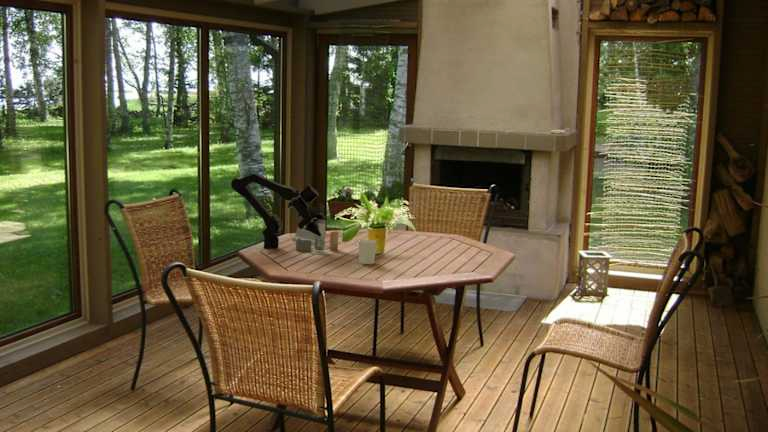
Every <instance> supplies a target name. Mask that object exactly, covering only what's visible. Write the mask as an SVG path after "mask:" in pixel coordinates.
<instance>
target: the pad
mask: <svg viewBox="0 0 768 432" xmlns="http://www.w3.org/2000/svg"><path fill="white" fill-rule="evenodd" d="M310 253H311V255H330V253H329V250H328V249H324V250H323V251H318V250H315V249H311V251H310Z"/></svg>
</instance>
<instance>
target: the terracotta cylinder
mask: <svg viewBox="0 0 768 432" xmlns="http://www.w3.org/2000/svg"><path fill="white" fill-rule="evenodd" d="M338 248H339V231H338V230H330V231H329V250H328V251H333V252H337V251H338V250H339V249H338Z"/></svg>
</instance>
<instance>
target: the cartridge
mask: <svg viewBox="0 0 768 432" xmlns="http://www.w3.org/2000/svg"><path fill="white" fill-rule="evenodd" d="M316 227H317V228H318V230H319V231H320V233H321V236H318V235H316V237H315V246H314V250H318V251H323V250H325V243H326V241H325V239H326V234H325V232H326V219H323V220H320V219H319V220H316Z"/></svg>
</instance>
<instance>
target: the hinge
mask: <svg viewBox="0 0 768 432" xmlns="http://www.w3.org/2000/svg"><path fill="white" fill-rule="evenodd" d="M305 228H306V225H305V226H304V228H303V229H301V230H300V228H299V227H298V226H297V229H296V232H295V234H294V236H293V237H292V239H291V241H292V242H295V243H296V239H298V238H300V239H311V246H313V247H315V237H316V234H314V233H312V232H310V231H308V230H305Z"/></svg>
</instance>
